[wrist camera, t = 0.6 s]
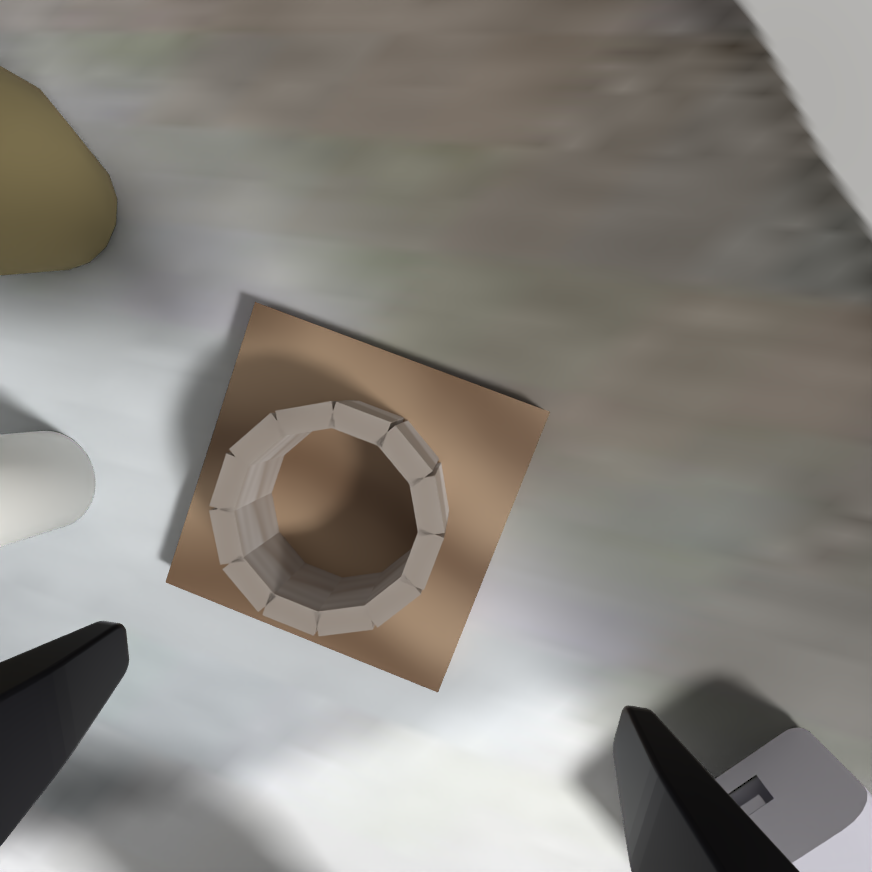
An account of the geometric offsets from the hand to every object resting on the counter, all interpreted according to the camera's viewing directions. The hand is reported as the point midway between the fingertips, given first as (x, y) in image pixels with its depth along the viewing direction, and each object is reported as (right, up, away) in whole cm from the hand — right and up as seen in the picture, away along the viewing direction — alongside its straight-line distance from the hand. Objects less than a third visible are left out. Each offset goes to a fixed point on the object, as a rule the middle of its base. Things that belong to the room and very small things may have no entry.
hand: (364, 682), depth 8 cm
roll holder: (-3, +1, +14) cm, 15 cm away
